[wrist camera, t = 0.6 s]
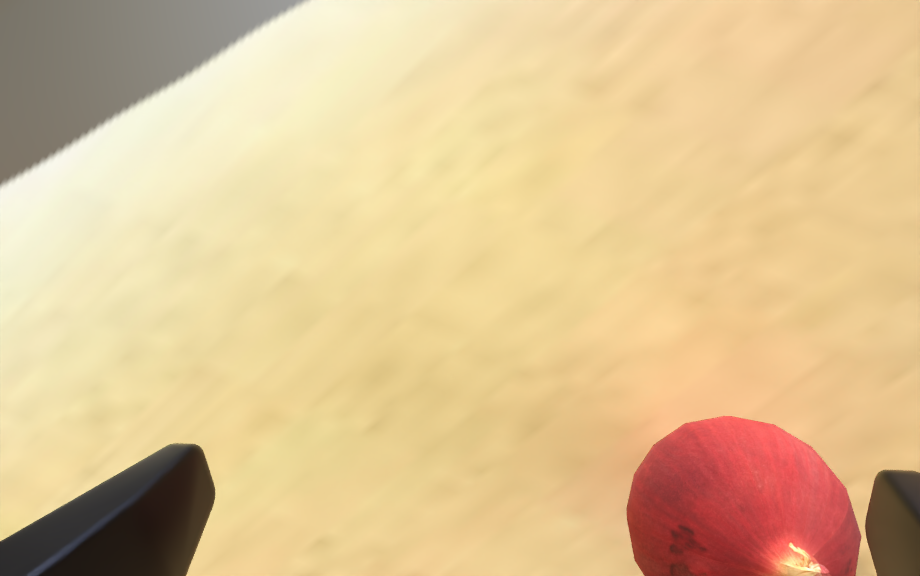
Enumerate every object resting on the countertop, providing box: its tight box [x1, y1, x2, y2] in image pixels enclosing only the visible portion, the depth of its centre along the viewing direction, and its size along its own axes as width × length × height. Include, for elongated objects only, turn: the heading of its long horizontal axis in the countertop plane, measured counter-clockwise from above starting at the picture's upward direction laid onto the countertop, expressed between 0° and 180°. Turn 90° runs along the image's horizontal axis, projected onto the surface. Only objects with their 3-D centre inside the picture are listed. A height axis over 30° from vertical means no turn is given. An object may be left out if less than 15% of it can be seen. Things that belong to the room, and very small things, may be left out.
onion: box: [627, 416, 861, 576], centre depth 19 cm, size 6×6×8 cm
